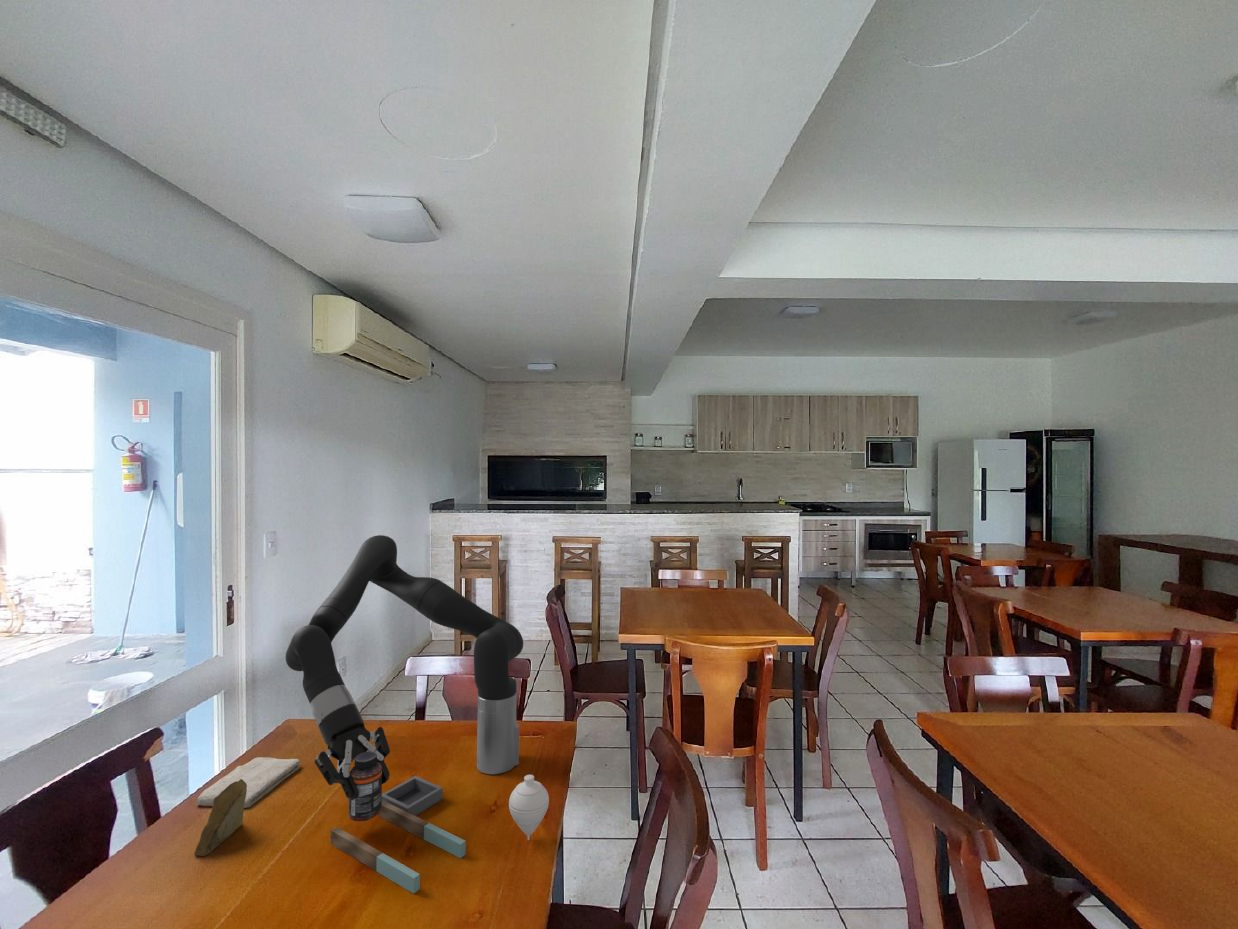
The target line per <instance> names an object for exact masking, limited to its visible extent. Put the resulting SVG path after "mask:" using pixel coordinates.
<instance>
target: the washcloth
mask: <svg viewBox="0 0 1238 929" xmlns="http://www.w3.org/2000/svg"><path fill="white" fill-rule="evenodd" d="M300 764H301V760H300V759H298V758H288V759H287V758H286V759H282V758H274V757H271V756H270V757H267V756H266V757H261V756H260V757H254V758H253V759H251V760H249V761H248V762H246V763H245V764H243V765H237V766H236V767H235V768H234V769H232V770H231V771H230V772H229V773H228V774H226V775H225V776H223V777H221V778H219V780H217V781H216V782H215V783H213V784H212V785H210V786H208V787H207V788H206V789H204V790H203V791H202V792H201V793H200V795H199V796H198V797H197V798H196V802H195V804H196V805H199V806H201V807H202V806H203V807H213V801H214V798H215V797H217V796H218V795H219V794H220V793H221V792H222V791H223V790H225V788H227V787H228V786H229V785H230V784H232V783H233V782H235V781H239V780H240V779H242V780H243V781H244V782H245V783H246V784H247V792H246V798H245V802H244V807H243V809H248V808H250V807H251V806H252V805H254V804H256V802H258V801H259V800H261V799H262V798H263V797H265V795H267V794H268V793H270V792H271V791H272V790H274V789H275V788H276V786H277V787H278V786H279V784H281V783H282V782H284V780H285V779H286V778H289V777H290V776H291V775H292V774H293V773H296V772H297V771H298V770H299V769H300V768H301V766H300Z"/></svg>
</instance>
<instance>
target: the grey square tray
mask: <svg viewBox="0 0 1238 929" xmlns="http://www.w3.org/2000/svg"><path fill="white" fill-rule="evenodd" d="M443 792H444V787H442V786H440V785H437V784H435V783H432V782H431V781H428V780H426V779H423V778H421V777H419V776H416V775H414V776H413V777H411V778H409V779H407V780H405V781H404V782H402V783H400V784H398V785H395V786H394V787H392V788H391V789H388V790H387V791H385V792H382V802H383V801H385V802H387V803H389V804H392V805H394V806H396V807H398V808H400V809H402V810H404V811H406V812H408V813H410V814H412V815H414V816H416V817H418V815H420V814H422V813H423V812H425V811H427V810H428V809H430V808H431V807H433V806H435V805H436V804H438V803H439V802H441V801H442V800H443V798H444V797H443V796H444V793H443Z"/></svg>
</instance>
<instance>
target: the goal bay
mask: <svg viewBox="0 0 1238 929" xmlns="http://www.w3.org/2000/svg"><path fill="white" fill-rule="evenodd" d="M423 840H424V841H426V842H428V843H430V844H431V845H433V846H435V847H437V848H440V849H441V850H444V851H446V852H448V853H449V854H451V855H453V856H455V857H456V858H459V859H461V858H464V857H465V855H466V849H467V848H466V847H467V846H466V845H467V844H466V840H465V839H462V838H461V837H458V836H456V835H454V834H453V833H450V832H448V831H446V830H444V829H442V828H440V827H438V826H436V825H434V824H432V823H430V822H428V824H427V825H425V826H424V839H423ZM375 872H376V873H378V874H380V875H382V876H384V877H385V878H387V879H388V880H390V881H391V882H393V883H396V884H397V885H398V886H399V887H401V888H404V889H405V890H406V891H409V892H410V893H412V894H415V893H417V892H418V891H420V887H421V886H420V880H421V873H418V872H417V871H415V870H413V869H412V868H410V867H409V866H406V865H404V864H402V863H401V862H399V861H398V860H395V859H394V858H393V857H391V856H389V855H387V854H385V853H383V852H382V854H380V855H379V856H377V864H376V871H375Z"/></svg>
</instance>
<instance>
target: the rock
mask: <svg viewBox="0 0 1238 929" xmlns="http://www.w3.org/2000/svg"><path fill="white" fill-rule="evenodd" d="M246 792H247V784H246V783H245V782H244V781H243V780H242V779H240V780H239V781H235V782H233V783H232V784H230V785H229V786H228V787H227V788H225V790H223V791H222V792H221V793H220V794H219V795H218V796H217V797H215V798H214V801H213V806H212V807H211V808H212V809H211V811H210V813H209V817H208V818H207V819H208V821H207V822H206V824H205V825H204V828H203V829H202V831H201V834H200V836H199V837H200V838H199V841H198V843H197V845H196V848H195V851H194V853H193V855H194V856H201V857H203V856H204V857H205V856H207V855H209V854H210V853H211V852H212V851H213V850H214V849H216V848H217V847H218V846H220V844H221V843H222V842H223V841H224V840H226V839H228V838H229V837H230V836H231V835H232V834H233V833H234V832H235V831H236V830H237V829H239V828H240V827H241V826H242V825H243V821H244V808H243V807H244V802H245V798H246Z"/></svg>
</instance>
